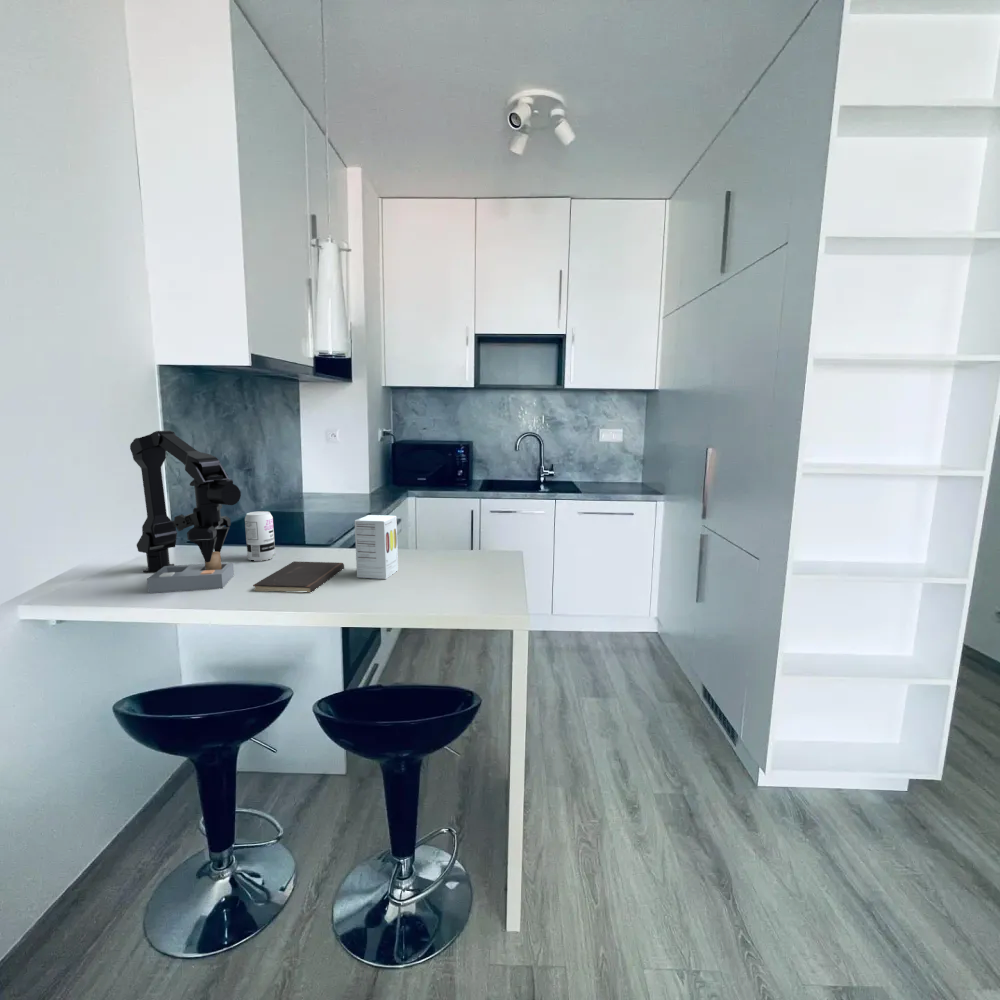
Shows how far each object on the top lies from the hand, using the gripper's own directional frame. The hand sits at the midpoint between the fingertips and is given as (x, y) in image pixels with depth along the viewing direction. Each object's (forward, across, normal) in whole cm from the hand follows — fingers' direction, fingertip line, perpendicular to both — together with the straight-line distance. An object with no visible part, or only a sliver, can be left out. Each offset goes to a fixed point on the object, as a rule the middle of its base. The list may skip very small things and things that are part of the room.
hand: (212, 557), depth 153 cm
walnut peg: (+7, 0, 0) cm, 7 cm away
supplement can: (+7, -23, +8) cm, 25 cm away
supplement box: (+7, +3, +45) cm, 46 cm away
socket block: (+7, +1, -5) cm, 9 cm away
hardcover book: (+8, +3, +24) cm, 25 cm away
